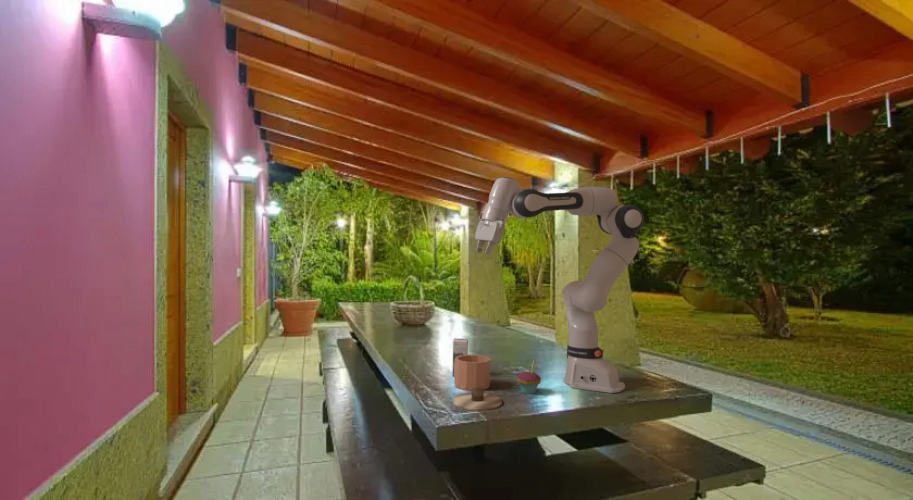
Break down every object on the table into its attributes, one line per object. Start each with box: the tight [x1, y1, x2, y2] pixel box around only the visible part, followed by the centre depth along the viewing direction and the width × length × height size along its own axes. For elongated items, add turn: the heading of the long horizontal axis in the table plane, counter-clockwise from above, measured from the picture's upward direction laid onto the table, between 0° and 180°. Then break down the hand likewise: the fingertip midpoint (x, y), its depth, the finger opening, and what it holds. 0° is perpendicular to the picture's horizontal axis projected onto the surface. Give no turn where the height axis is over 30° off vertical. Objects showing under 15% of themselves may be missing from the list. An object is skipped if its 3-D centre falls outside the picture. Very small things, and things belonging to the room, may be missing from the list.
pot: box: [454, 354, 491, 392], centre depth 171 cm, size 13×13×10 cm
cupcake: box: [516, 358, 542, 395], centre depth 165 cm, size 9×8×12 cm
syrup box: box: [451, 337, 469, 378], centre depth 186 cm, size 6×6×14 cm
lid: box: [452, 387, 503, 411], centre depth 152 cm, size 16×16×5 cm
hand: (482, 253), depth 173 cm, fingers open, 8 cm apart
